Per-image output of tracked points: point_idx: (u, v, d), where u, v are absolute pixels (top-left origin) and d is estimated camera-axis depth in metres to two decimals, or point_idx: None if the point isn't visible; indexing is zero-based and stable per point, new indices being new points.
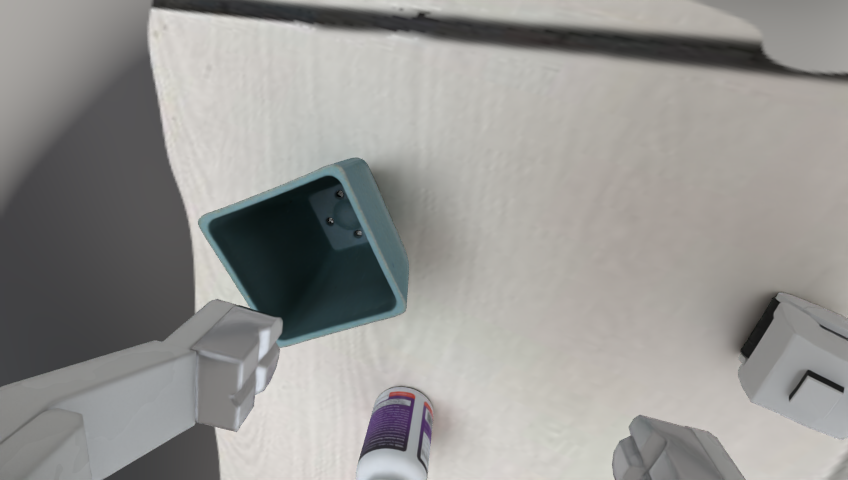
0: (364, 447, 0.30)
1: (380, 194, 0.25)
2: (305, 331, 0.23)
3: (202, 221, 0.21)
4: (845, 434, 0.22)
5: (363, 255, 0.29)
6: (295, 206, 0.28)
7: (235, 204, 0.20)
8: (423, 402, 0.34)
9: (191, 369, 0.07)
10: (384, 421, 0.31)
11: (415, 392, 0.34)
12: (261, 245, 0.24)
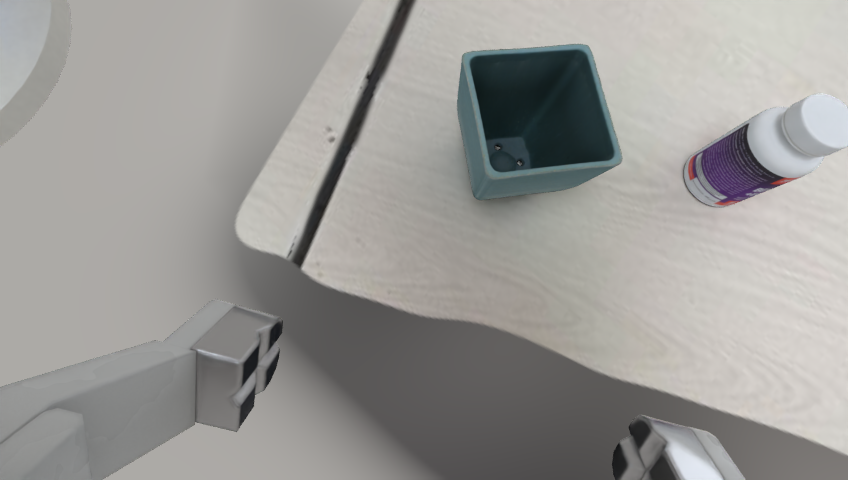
0: (751, 171, 0.29)
1: None
2: (606, 134, 0.25)
3: (490, 173, 0.23)
4: None
5: (540, 152, 0.32)
6: None
7: (480, 138, 0.24)
8: (700, 149, 0.34)
9: (191, 369, 0.07)
10: (720, 161, 0.31)
11: (689, 159, 0.34)
12: None
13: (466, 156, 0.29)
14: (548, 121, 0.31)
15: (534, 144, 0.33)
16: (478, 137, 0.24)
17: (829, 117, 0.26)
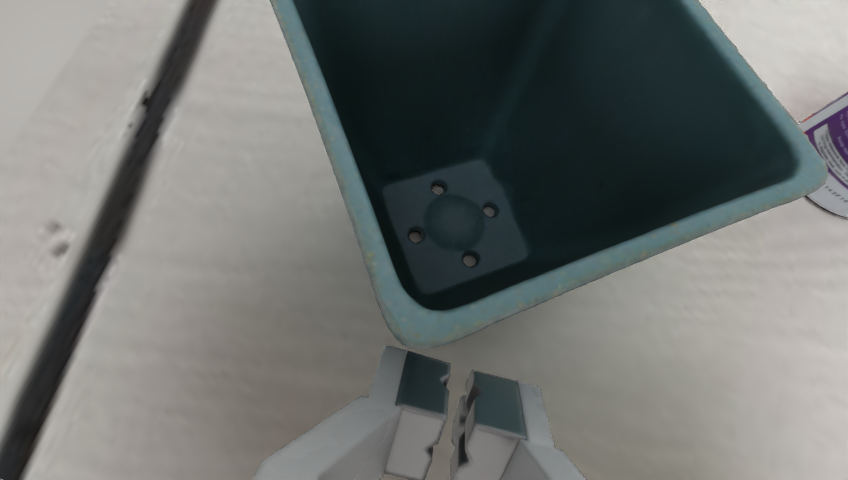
0: None
1: None
2: (739, 102, 0.08)
3: (409, 327, 0.06)
4: None
5: (527, 183, 0.15)
6: (437, 304, 0.13)
7: (345, 193, 0.06)
8: (805, 120, 0.18)
9: (396, 424, 0.07)
10: None
11: None
12: None
13: None
14: (531, 115, 0.14)
15: (510, 168, 0.16)
16: None
17: None
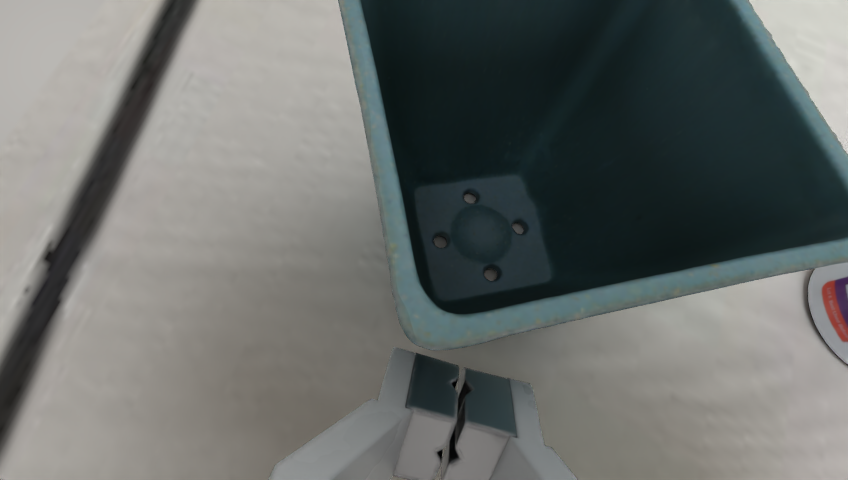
0: None
1: None
2: (802, 150, 0.08)
3: (421, 324, 0.05)
4: None
5: (561, 205, 0.15)
6: (451, 312, 0.13)
7: (378, 181, 0.06)
8: None
9: (406, 427, 0.07)
10: None
11: (815, 286, 0.16)
12: None
13: None
14: (576, 137, 0.14)
15: (546, 188, 0.15)
16: (374, 177, 0.06)
17: None
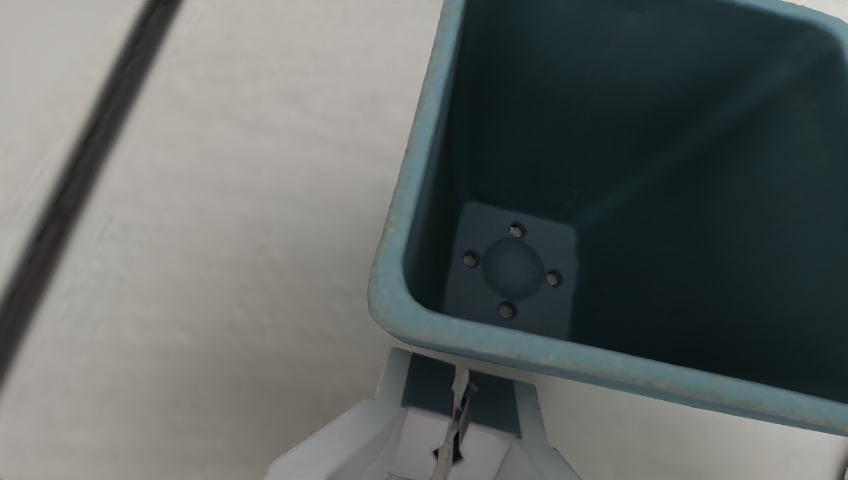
0: None
1: None
2: None
3: (385, 301, 0.05)
4: None
5: (604, 273, 0.14)
6: None
7: (407, 158, 0.06)
8: None
9: (402, 426, 0.07)
10: None
11: None
12: None
13: None
14: (644, 210, 0.13)
15: (596, 250, 0.15)
16: None
17: None
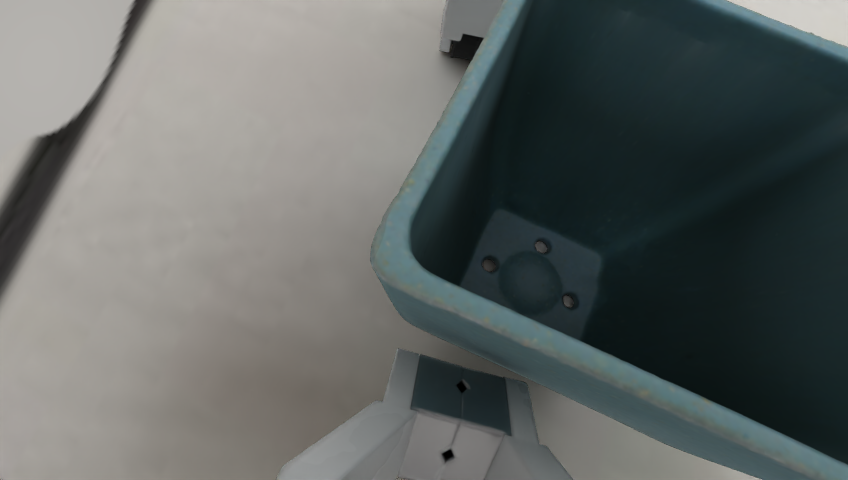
0: None
1: None
2: None
3: (386, 252, 0.06)
4: None
5: (622, 305, 0.14)
6: None
7: (437, 129, 0.06)
8: None
9: (411, 429, 0.07)
10: None
11: None
12: None
13: None
14: (677, 249, 0.13)
15: (619, 282, 0.14)
16: None
17: None
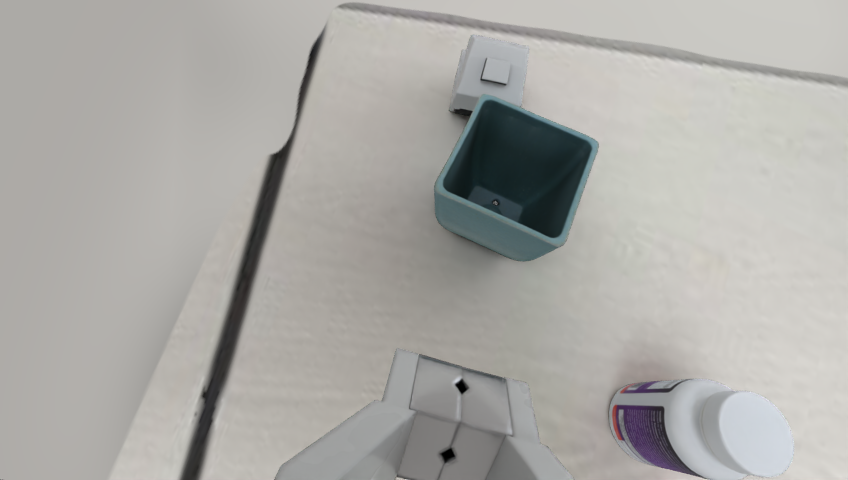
0: (683, 469, 0.23)
1: None
2: (565, 218, 0.25)
3: (438, 186, 0.25)
4: (522, 49, 0.30)
5: (526, 224, 0.32)
6: None
7: (449, 157, 0.26)
8: (621, 393, 0.29)
9: (410, 428, 0.07)
10: (645, 441, 0.25)
11: (611, 405, 0.29)
12: None
13: None
14: (546, 200, 0.32)
15: (526, 216, 0.33)
16: (450, 157, 0.26)
17: (755, 429, 0.20)
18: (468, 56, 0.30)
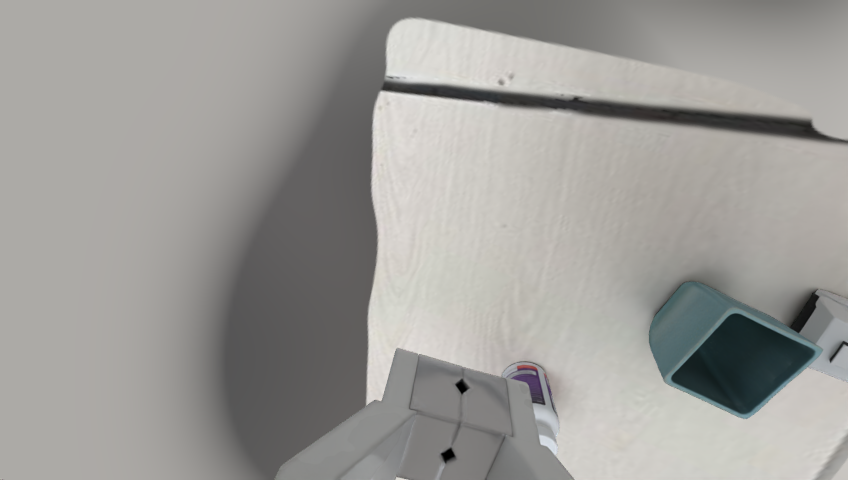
0: None
1: None
2: (685, 385, 0.35)
3: (734, 309, 0.31)
4: None
5: None
6: None
7: (760, 319, 0.31)
8: (543, 373, 0.45)
9: (410, 428, 0.07)
10: None
11: (536, 366, 0.45)
12: None
13: None
14: (697, 360, 0.40)
15: None
16: (761, 319, 0.32)
17: None
18: None
